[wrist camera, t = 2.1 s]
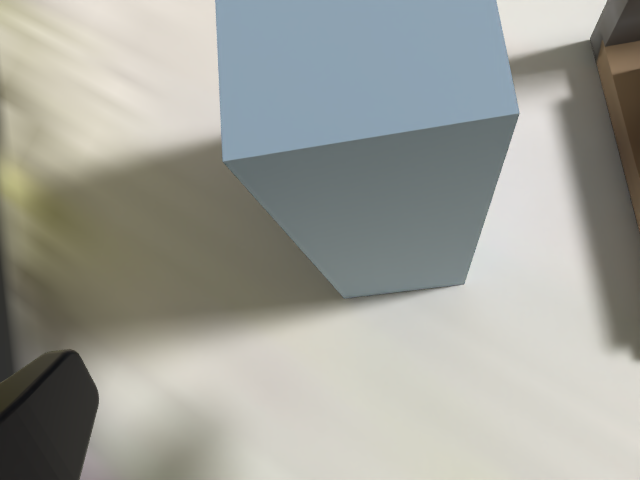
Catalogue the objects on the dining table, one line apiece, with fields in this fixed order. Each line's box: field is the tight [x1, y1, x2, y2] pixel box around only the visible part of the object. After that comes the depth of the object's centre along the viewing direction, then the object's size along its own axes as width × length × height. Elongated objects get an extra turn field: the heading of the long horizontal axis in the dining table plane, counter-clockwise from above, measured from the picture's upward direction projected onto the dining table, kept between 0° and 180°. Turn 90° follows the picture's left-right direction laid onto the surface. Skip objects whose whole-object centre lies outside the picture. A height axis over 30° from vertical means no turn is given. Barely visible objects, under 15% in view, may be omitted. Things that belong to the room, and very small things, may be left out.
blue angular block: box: [215, 0, 519, 299], centre depth 14 cm, size 7×4×12 cm, turn 5°
